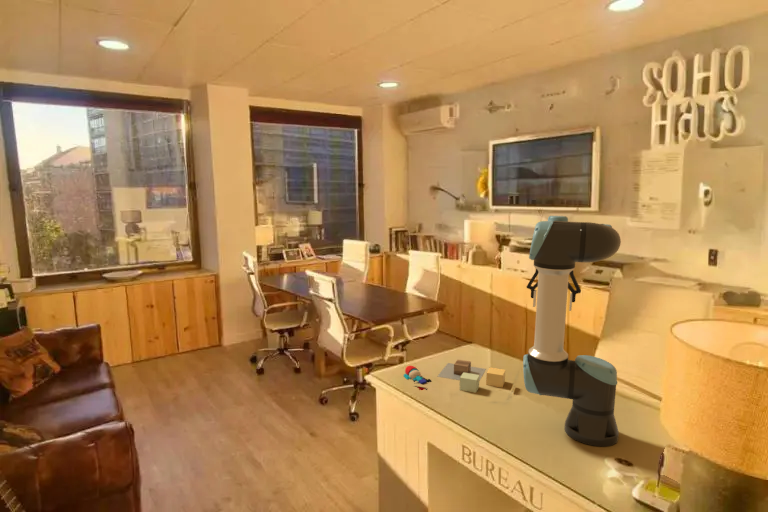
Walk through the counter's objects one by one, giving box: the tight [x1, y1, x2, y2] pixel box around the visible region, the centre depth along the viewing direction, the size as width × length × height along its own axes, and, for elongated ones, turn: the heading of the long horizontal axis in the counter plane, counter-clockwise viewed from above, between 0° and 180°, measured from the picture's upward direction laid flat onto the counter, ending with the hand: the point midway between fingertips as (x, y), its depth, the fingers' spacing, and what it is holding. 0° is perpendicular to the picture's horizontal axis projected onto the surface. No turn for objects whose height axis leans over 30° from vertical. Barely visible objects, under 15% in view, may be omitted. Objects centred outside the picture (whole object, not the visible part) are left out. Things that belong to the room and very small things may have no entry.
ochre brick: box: [485, 367, 506, 388], centre depth 181 cm, size 6×6×6 cm
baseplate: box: [437, 362, 487, 382], centre depth 191 cm, size 16×16×1 cm
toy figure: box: [403, 365, 432, 391], centre depth 184 cm, size 8×5×15 cm
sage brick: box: [459, 372, 480, 394], centre depth 176 cm, size 5×6×6 cm
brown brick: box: [453, 359, 472, 375], centre depth 191 cm, size 6×5×4 cm
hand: (552, 308), depth 191 cm, fingers open, 13 cm apart
